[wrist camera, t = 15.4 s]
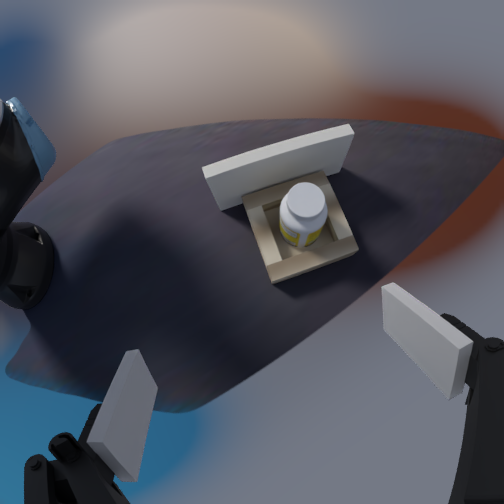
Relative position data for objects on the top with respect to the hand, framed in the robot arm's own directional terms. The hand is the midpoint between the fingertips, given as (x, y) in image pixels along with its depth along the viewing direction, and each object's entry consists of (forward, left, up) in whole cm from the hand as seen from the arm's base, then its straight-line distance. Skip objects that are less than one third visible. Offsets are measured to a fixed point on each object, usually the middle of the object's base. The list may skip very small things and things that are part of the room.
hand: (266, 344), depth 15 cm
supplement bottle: (+4, +13, -23) cm, 27 cm away
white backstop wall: (+1, +20, -23) cm, 31 cm away
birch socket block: (+4, +13, -23) cm, 27 cm away
